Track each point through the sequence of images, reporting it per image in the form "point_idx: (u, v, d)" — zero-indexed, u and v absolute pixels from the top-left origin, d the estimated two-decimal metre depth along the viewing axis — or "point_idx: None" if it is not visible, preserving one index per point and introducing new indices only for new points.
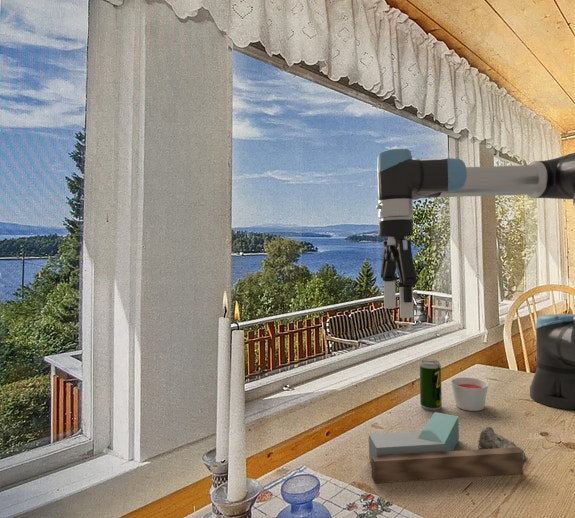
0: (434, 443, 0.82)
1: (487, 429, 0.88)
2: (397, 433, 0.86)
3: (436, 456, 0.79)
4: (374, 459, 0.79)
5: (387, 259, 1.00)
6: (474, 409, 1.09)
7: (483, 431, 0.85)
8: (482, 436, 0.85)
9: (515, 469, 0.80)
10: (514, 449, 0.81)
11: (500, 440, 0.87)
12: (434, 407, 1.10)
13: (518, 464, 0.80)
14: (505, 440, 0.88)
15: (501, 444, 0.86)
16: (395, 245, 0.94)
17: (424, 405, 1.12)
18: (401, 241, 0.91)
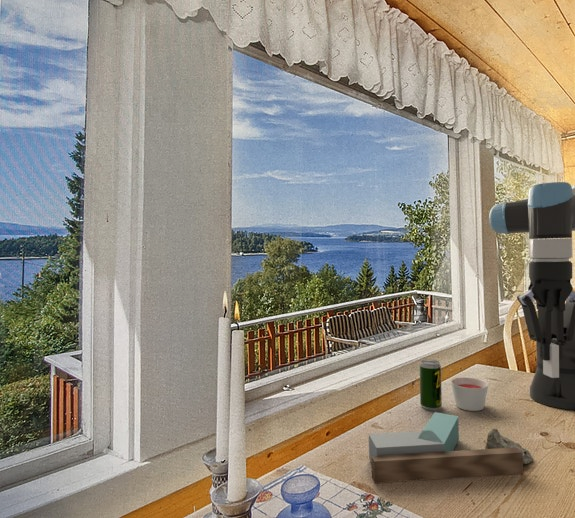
0: (434, 443, 0.82)
1: (493, 431, 0.87)
2: (397, 433, 0.86)
3: (436, 456, 0.79)
4: (374, 459, 0.79)
5: None
6: (474, 409, 1.09)
7: (490, 433, 0.84)
8: (489, 438, 0.84)
9: (515, 469, 0.80)
10: (514, 449, 0.81)
11: (507, 442, 0.86)
12: (434, 407, 1.10)
13: (518, 464, 0.80)
14: (511, 442, 0.88)
15: (508, 446, 0.85)
16: None
17: (424, 405, 1.12)
18: (518, 297, 0.87)
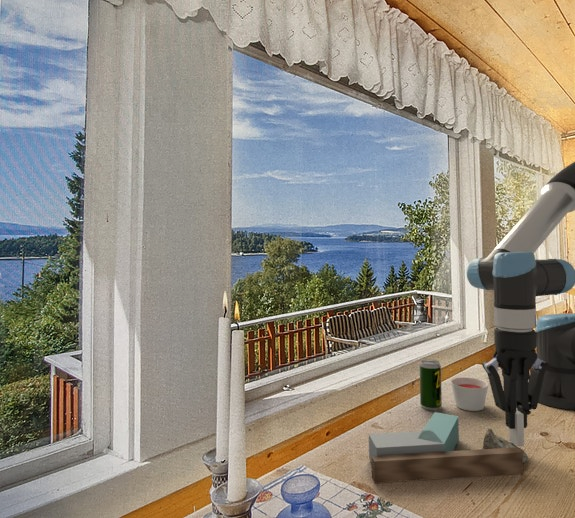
0: (434, 443, 0.82)
1: (489, 431, 0.87)
2: (397, 433, 0.86)
3: (436, 456, 0.79)
4: (374, 459, 0.79)
5: None
6: (474, 409, 1.09)
7: (487, 434, 0.84)
8: (487, 439, 0.84)
9: (515, 469, 0.80)
10: (514, 449, 0.81)
11: (502, 442, 0.86)
12: (434, 407, 1.10)
13: (518, 464, 0.80)
14: (506, 441, 0.88)
15: (504, 446, 0.85)
16: None
17: (424, 405, 1.12)
18: (483, 365, 0.87)
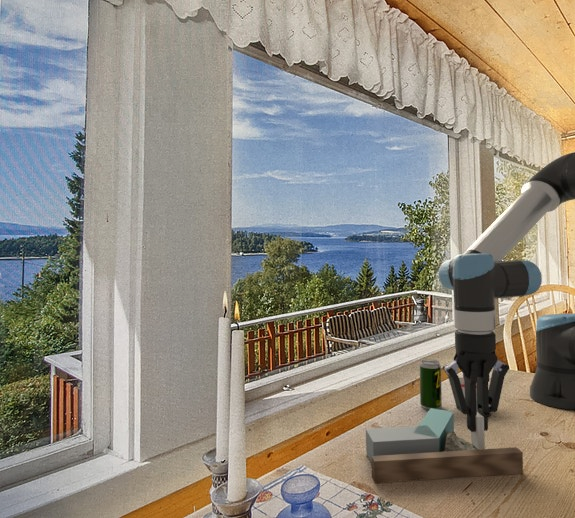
0: (429, 437, 0.84)
1: (451, 433, 0.86)
2: (394, 428, 0.88)
3: (436, 456, 0.79)
4: (374, 459, 0.79)
5: None
6: None
7: (448, 436, 0.84)
8: (448, 441, 0.83)
9: (515, 469, 0.80)
10: (514, 449, 0.81)
11: (464, 444, 0.86)
12: (434, 407, 1.10)
13: (518, 464, 0.80)
14: (467, 443, 0.88)
15: (465, 448, 0.85)
16: None
17: (424, 405, 1.12)
18: (443, 368, 0.87)
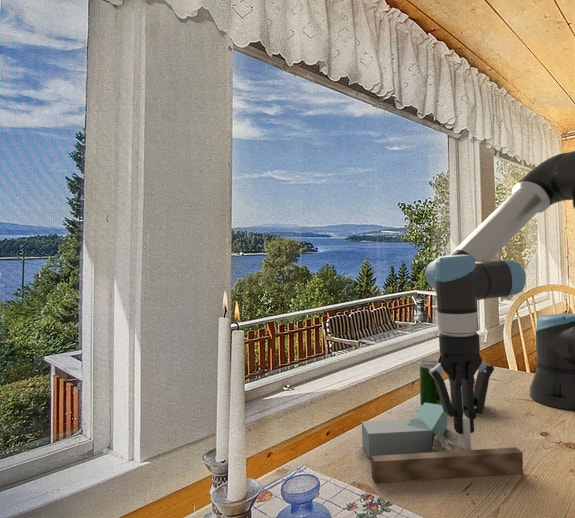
0: (422, 429, 0.88)
1: (438, 435, 0.86)
2: (388, 421, 0.92)
3: (436, 456, 0.79)
4: (374, 459, 0.79)
5: None
6: None
7: (436, 438, 0.83)
8: (435, 443, 0.83)
9: (515, 469, 0.80)
10: (514, 449, 0.81)
11: (451, 446, 0.86)
12: None
13: (518, 464, 0.80)
14: (455, 445, 0.87)
15: (452, 450, 0.85)
16: None
17: None
18: (428, 371, 0.86)
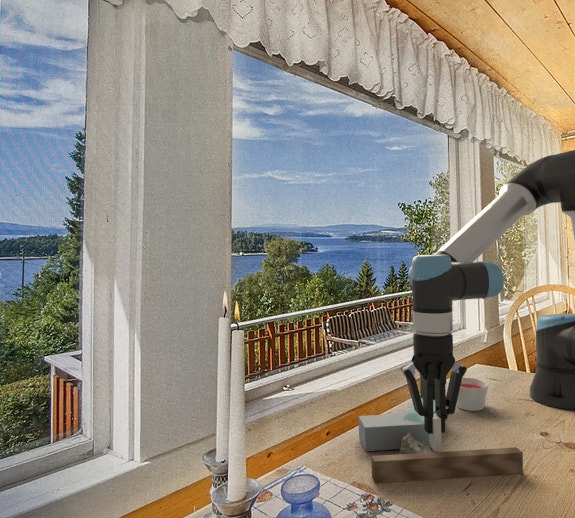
0: (417, 423, 0.91)
1: (408, 436, 0.86)
2: (384, 416, 0.95)
3: (436, 456, 0.79)
4: (374, 459, 0.79)
5: None
6: (474, 409, 1.09)
7: (404, 439, 0.83)
8: (403, 444, 0.83)
9: (515, 469, 0.80)
10: (514, 449, 0.81)
11: (420, 447, 0.86)
12: None
13: (518, 464, 0.80)
14: (425, 446, 0.87)
15: (421, 450, 0.84)
16: None
17: None
18: (401, 369, 0.86)
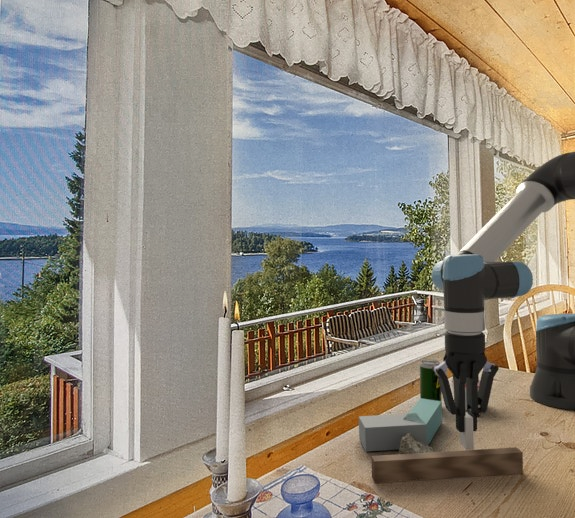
0: (417, 423, 0.90)
1: (407, 436, 0.86)
2: (385, 416, 0.95)
3: (436, 456, 0.79)
4: (374, 459, 0.79)
5: None
6: None
7: (403, 439, 0.83)
8: (402, 444, 0.83)
9: (515, 469, 0.80)
10: (514, 449, 0.81)
11: (420, 447, 0.85)
12: None
13: (518, 464, 0.80)
14: (424, 446, 0.87)
15: (421, 451, 0.84)
16: None
17: None
18: (433, 368, 0.87)
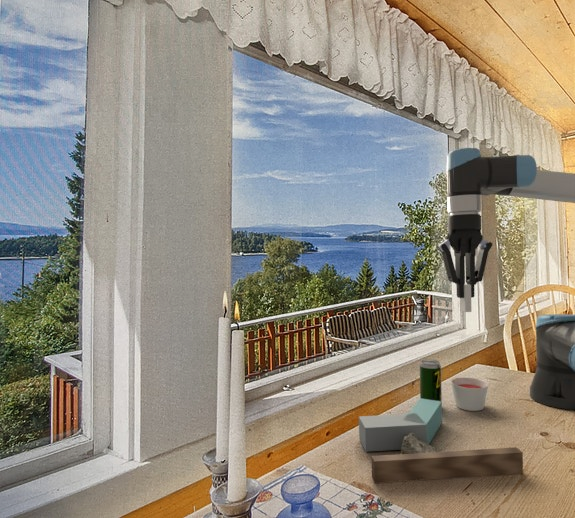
0: (417, 424, 0.90)
1: (409, 436, 0.86)
2: (385, 416, 0.95)
3: (436, 456, 0.79)
4: (374, 459, 0.79)
5: (465, 253, 1.06)
6: (474, 409, 1.09)
7: (405, 438, 0.83)
8: (404, 444, 0.83)
9: (515, 469, 0.80)
10: (514, 449, 0.81)
11: (422, 447, 0.85)
12: None
13: (518, 464, 0.80)
14: (427, 446, 0.87)
15: (423, 451, 0.84)
16: None
17: None
18: (438, 246, 1.04)
